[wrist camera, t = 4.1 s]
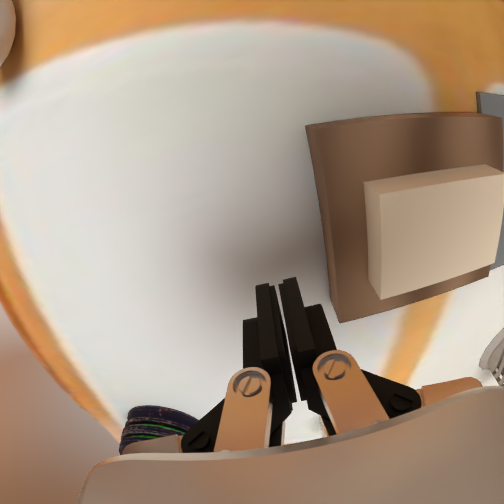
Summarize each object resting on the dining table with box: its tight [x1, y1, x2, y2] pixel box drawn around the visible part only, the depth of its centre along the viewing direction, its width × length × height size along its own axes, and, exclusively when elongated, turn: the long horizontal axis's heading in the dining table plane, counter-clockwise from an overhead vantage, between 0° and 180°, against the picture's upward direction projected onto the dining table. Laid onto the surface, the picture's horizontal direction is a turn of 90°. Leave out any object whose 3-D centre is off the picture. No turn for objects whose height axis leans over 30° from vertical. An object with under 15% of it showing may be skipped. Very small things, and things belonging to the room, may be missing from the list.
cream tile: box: [363, 164, 504, 300], centre depth 14 cm, size 9×6×2 cm, turn 103°
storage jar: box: [119, 406, 199, 455], centre depth 23 cm, size 10×10×15 cm
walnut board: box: [305, 112, 503, 323], centre depth 16 cm, size 13×12×2 cm
